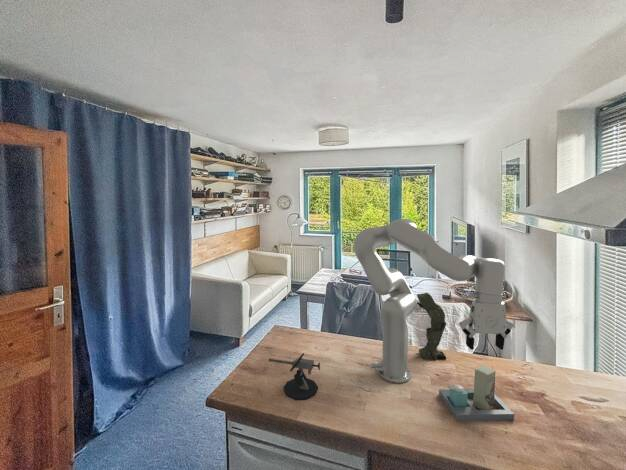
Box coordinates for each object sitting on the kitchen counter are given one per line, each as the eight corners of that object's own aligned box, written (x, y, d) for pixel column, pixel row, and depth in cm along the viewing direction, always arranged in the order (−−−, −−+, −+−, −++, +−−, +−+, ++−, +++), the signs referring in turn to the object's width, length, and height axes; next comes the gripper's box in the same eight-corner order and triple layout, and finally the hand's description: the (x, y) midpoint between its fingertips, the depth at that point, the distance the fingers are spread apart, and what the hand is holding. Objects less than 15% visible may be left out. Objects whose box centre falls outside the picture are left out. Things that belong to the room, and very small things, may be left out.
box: (485, 413, 98) (487, 375, 96) (472, 405, 101) (474, 369, 100) (494, 407, 100) (496, 370, 99) (481, 400, 104) (483, 364, 103)
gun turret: (275, 374, 121) (274, 344, 120) (323, 382, 115) (323, 350, 114) (260, 393, 109) (259, 359, 107) (314, 403, 103) (313, 367, 102)
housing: (456, 421, 94) (457, 414, 94) (439, 394, 107) (439, 389, 107) (514, 419, 95) (514, 413, 94) (489, 394, 107) (489, 388, 107)
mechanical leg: (450, 351, 137) (436, 288, 135) (456, 359, 130) (441, 292, 128) (419, 356, 139) (405, 294, 137) (423, 365, 132) (408, 299, 130)
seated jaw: (454, 411, 99) (455, 391, 98) (449, 403, 103) (449, 383, 102) (466, 411, 99) (467, 390, 98) (460, 403, 103) (461, 383, 102)
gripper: (467, 300, 93) (464, 353, 95) (523, 301, 94) (518, 353, 96) (456, 293, 101) (452, 342, 103) (507, 293, 101) (503, 342, 103)
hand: (484, 347), depth 99 cm, fingers open, 9 cm apart
